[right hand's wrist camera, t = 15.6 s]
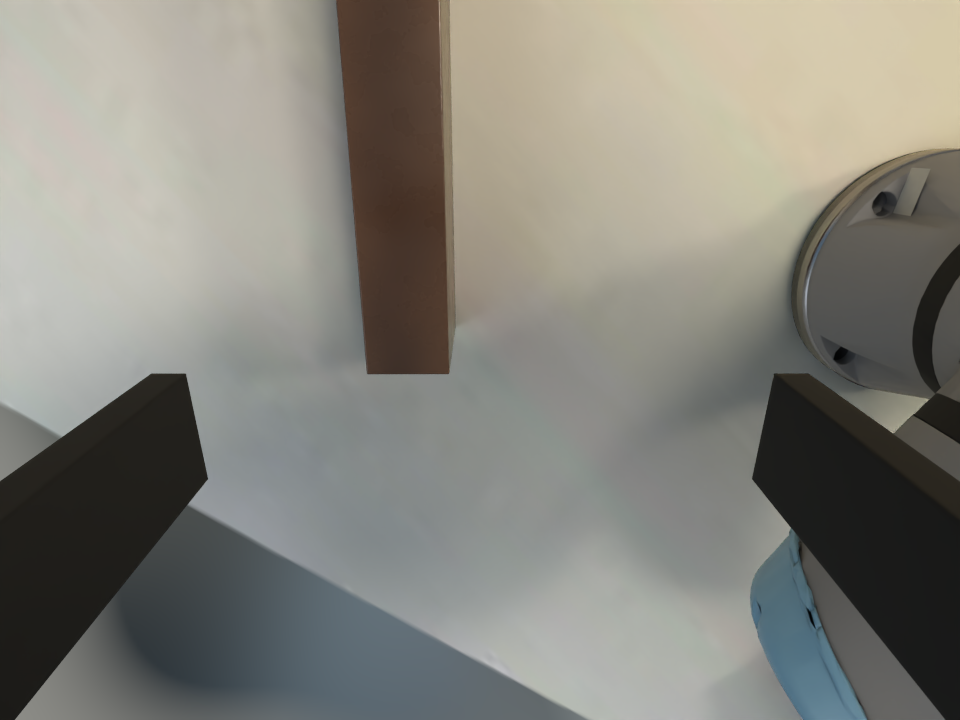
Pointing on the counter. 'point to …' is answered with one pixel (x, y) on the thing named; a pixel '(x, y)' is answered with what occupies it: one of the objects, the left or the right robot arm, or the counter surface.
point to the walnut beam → (401, 178)
